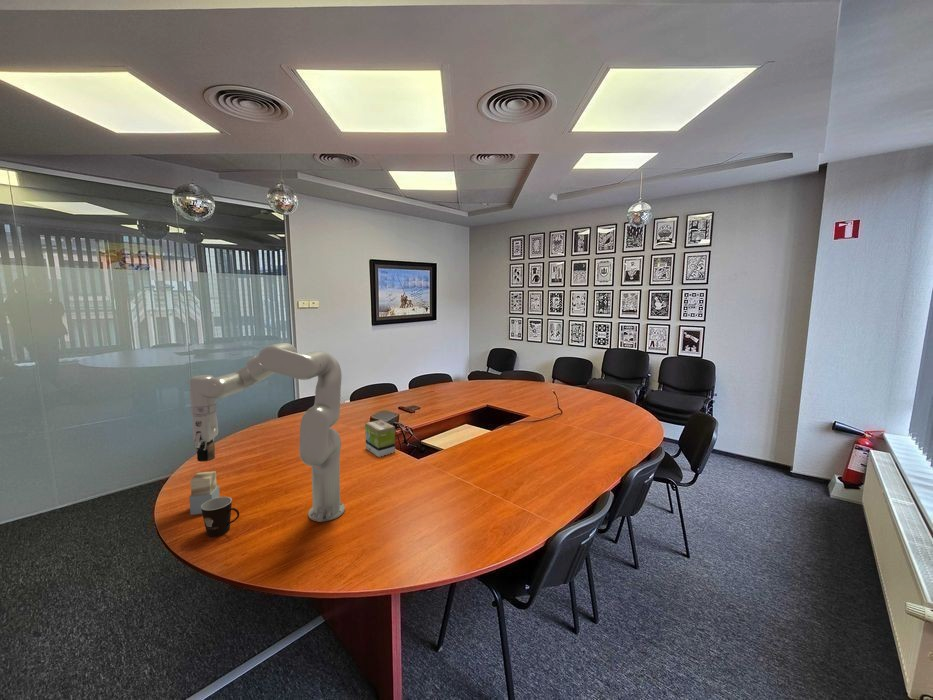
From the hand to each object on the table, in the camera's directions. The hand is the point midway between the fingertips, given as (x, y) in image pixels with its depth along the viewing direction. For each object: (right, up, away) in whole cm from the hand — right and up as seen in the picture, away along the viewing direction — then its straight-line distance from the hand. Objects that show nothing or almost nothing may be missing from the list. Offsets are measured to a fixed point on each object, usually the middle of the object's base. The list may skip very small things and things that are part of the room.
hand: (206, 456), depth 136 cm
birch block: (-2, -13, +1) cm, 13 cm away
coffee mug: (+14, -22, -13) cm, 29 cm away
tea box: (+50, -15, +60) cm, 79 cm away
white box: (-2, -20, +2) cm, 20 cm away
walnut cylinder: (0, -1, 0) cm, 1 cm away
